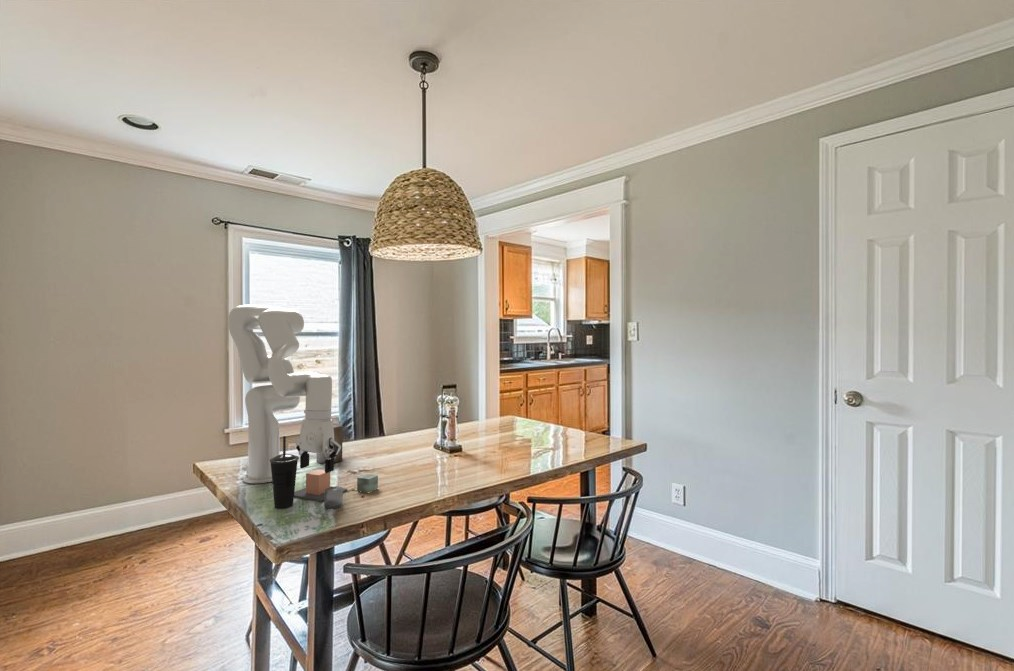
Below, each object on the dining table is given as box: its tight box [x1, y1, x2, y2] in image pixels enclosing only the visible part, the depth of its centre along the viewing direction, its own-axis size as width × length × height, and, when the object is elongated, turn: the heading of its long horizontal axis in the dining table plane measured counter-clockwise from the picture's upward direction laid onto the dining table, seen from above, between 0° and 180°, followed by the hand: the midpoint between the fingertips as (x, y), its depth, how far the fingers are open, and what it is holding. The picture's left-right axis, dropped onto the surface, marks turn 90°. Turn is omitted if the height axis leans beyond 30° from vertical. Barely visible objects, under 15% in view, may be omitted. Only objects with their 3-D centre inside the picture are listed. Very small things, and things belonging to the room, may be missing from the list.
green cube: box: [356, 473, 379, 493], centre depth 154 cm, size 4×4×4 cm
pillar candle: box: [316, 422, 344, 465], centre depth 188 cm, size 10×10×15 cm
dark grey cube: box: [323, 485, 344, 510], centre depth 139 cm, size 5×5×5 cm
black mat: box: [294, 485, 348, 503], centre depth 150 cm, size 13×11×1 cm
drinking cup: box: [270, 435, 300, 510], centre depth 139 cm, size 8×8×20 cm
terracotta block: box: [305, 468, 331, 495], centre depth 150 cm, size 5×5×6 cm
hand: (316, 469), depth 150 cm, fingers open, 9 cm apart
